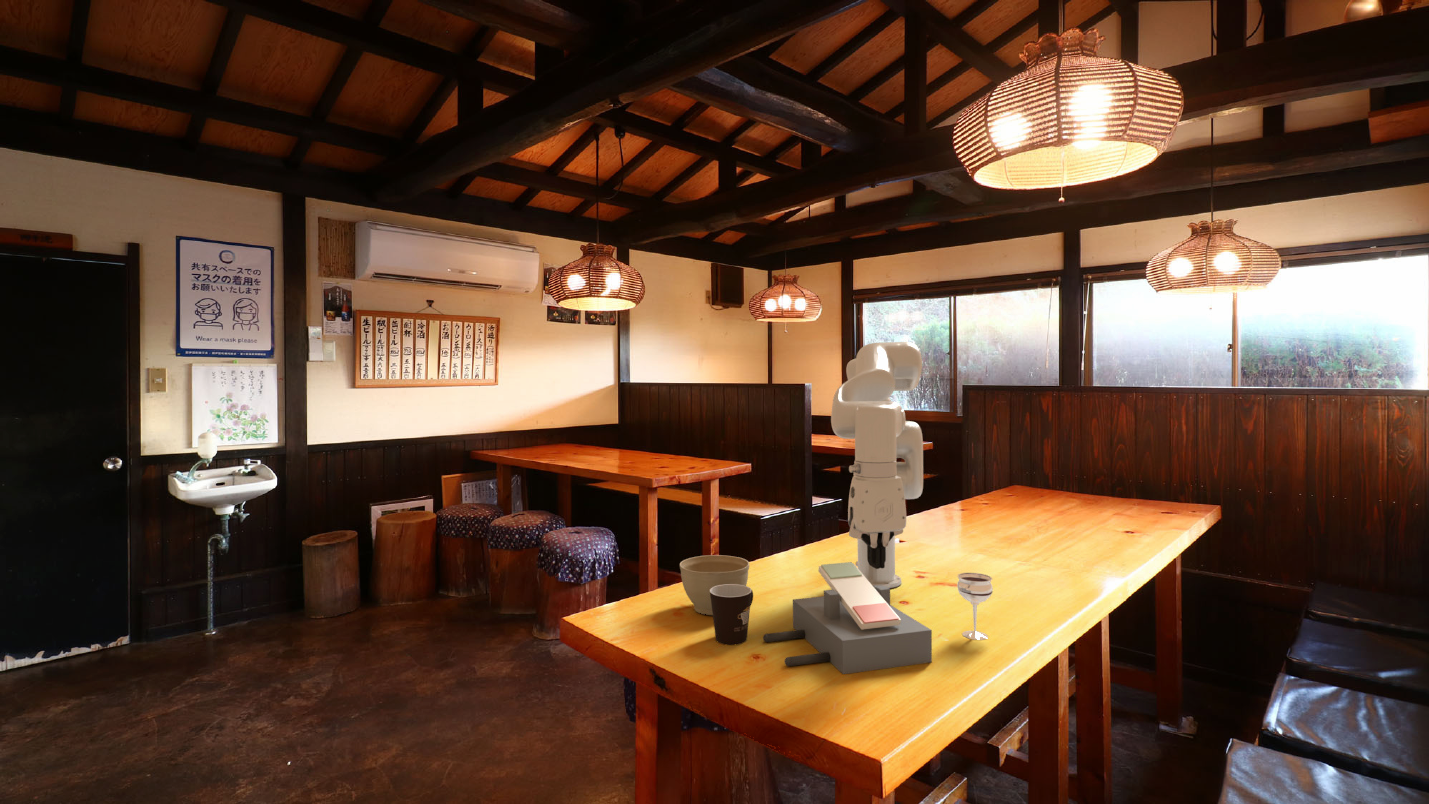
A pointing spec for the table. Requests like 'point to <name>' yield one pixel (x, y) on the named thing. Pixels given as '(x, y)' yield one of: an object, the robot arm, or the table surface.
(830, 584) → the breaker paddle
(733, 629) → the coffee mug
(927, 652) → the box
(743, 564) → the planter bowl
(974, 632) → the wineglass
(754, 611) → the table surface
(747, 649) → the table surface
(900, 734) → the table surface
